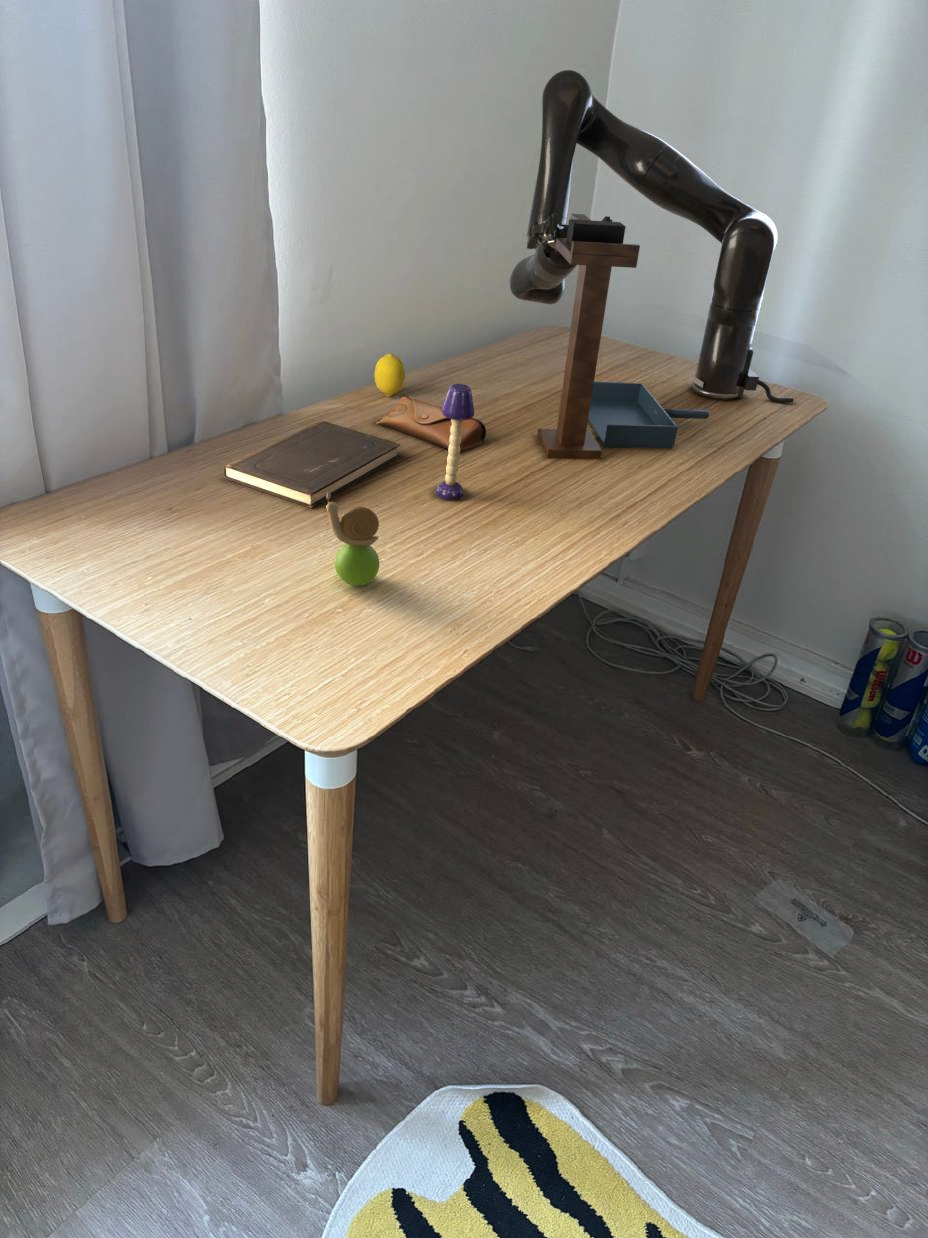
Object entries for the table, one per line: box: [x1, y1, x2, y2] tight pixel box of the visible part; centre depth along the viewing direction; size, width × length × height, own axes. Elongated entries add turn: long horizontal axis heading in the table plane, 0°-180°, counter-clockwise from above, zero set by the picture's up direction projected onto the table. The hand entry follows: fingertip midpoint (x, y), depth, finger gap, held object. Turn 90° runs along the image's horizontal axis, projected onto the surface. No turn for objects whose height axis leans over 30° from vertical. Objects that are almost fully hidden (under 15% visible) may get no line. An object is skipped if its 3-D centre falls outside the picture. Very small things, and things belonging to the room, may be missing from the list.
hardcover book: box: [223, 419, 401, 509], centre depth 141 cm, size 16×23×2 cm
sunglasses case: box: [376, 393, 487, 452], centre depth 156 cm, size 18×7×7 cm
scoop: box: [588, 381, 711, 449], centre depth 167 cm, size 22×22×4 cm
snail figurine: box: [325, 492, 380, 587], centre depth 111 cm, size 5×6×12 cm
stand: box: [536, 238, 641, 460], centre depth 147 cm, size 10×11×34 cm
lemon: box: [373, 352, 406, 398], centre depth 168 cm, size 6×6×8 cm
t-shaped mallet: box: [566, 213, 626, 246], centre depth 144 cm, size 14×8×3 cm, turn 7°
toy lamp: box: [435, 383, 475, 501], centre depth 133 cm, size 5×5×17 cm
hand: (582, 220), depth 147 cm, fingers open, 8 cm apart
